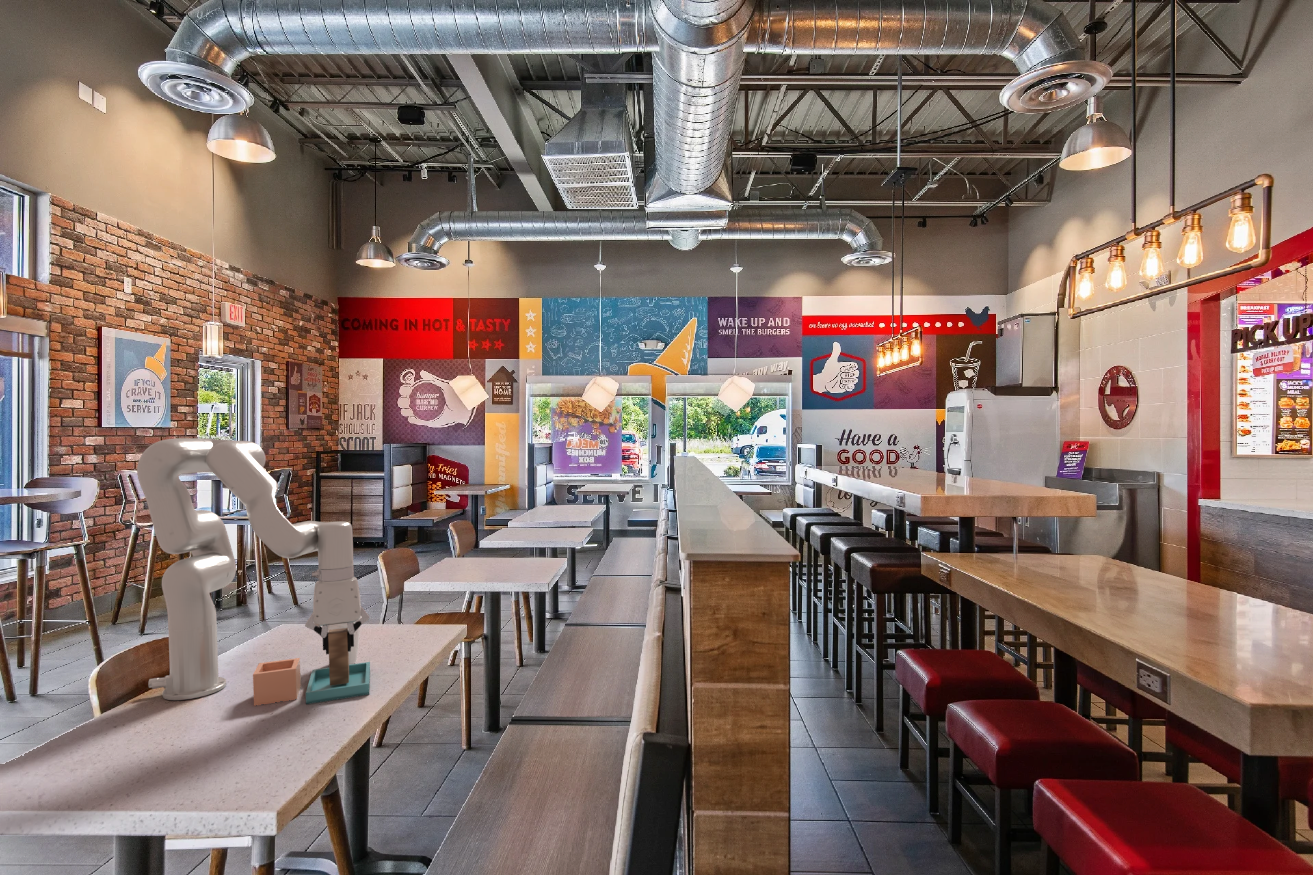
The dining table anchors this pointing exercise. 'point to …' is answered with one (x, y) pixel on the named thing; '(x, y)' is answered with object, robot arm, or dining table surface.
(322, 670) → the tray
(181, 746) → the dining table surface
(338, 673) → the walnut stick
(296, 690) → the holder cup
